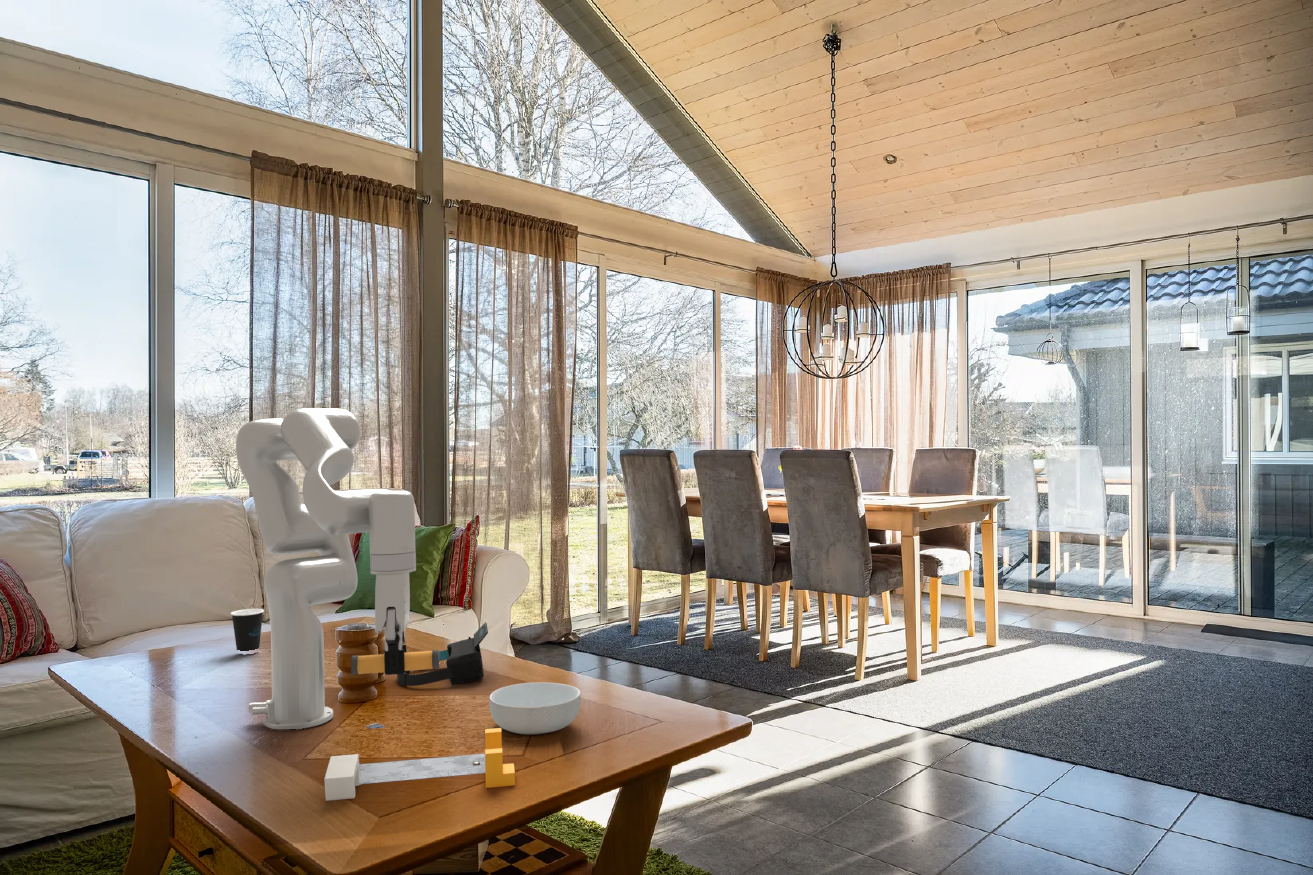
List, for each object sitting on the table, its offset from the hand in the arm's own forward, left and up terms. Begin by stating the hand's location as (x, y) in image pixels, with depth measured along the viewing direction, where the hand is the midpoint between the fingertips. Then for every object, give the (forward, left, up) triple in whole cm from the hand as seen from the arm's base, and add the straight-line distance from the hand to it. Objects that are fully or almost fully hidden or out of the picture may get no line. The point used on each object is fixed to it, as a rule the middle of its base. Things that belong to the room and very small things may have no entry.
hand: (395, 670), depth 150 cm
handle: (0, 0, 0) cm, 0 cm away
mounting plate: (+4, -10, -15) cm, 18 cm away
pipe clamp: (+17, -14, -15) cm, 27 cm away
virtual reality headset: (+5, +54, -15) cm, 56 cm away
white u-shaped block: (-6, -17, -14) cm, 23 cm away
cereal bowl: (+24, +8, -15) cm, 29 cm away
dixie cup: (-47, +92, -15) cm, 105 cm away
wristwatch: (-2, +11, -15) cm, 19 cm away
